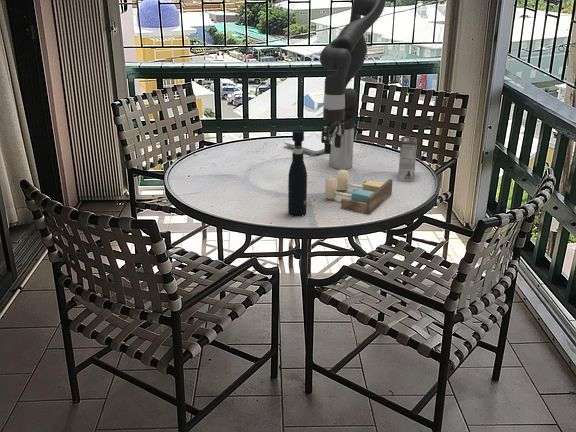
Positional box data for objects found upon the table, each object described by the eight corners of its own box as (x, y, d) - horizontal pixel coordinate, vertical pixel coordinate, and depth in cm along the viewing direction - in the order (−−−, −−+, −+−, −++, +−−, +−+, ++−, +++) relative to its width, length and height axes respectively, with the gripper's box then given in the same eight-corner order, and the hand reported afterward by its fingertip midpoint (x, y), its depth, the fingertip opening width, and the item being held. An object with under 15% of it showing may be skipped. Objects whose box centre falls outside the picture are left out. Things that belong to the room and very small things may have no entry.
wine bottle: (287, 210, 223) (287, 128, 212) (305, 209, 224) (306, 128, 212) (289, 217, 218) (289, 133, 206) (307, 216, 218) (308, 133, 206)
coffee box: (398, 173, 260) (401, 136, 254) (414, 174, 259) (417, 137, 253) (397, 180, 252) (400, 142, 246) (413, 181, 251) (417, 143, 245)
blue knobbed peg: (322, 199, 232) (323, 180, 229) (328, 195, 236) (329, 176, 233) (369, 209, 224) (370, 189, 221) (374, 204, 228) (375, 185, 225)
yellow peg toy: (334, 191, 240) (335, 172, 237) (340, 187, 244) (340, 168, 241) (379, 199, 232) (381, 180, 229) (384, 195, 236) (386, 176, 233)
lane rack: (340, 208, 225) (341, 192, 223) (364, 189, 243) (365, 174, 241) (369, 214, 220) (370, 198, 218) (391, 194, 238) (392, 179, 236)
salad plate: (313, 139, 307) (313, 132, 305) (346, 148, 293) (347, 141, 291) (282, 148, 293) (282, 141, 292) (315, 158, 279) (315, 151, 278)
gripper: (332, 101, 226) (331, 144, 233) (315, 109, 215) (314, 154, 221) (351, 103, 223) (350, 147, 230) (335, 111, 212) (333, 157, 218)
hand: (332, 150), depth 225 cm, fingers open, 8 cm apart
